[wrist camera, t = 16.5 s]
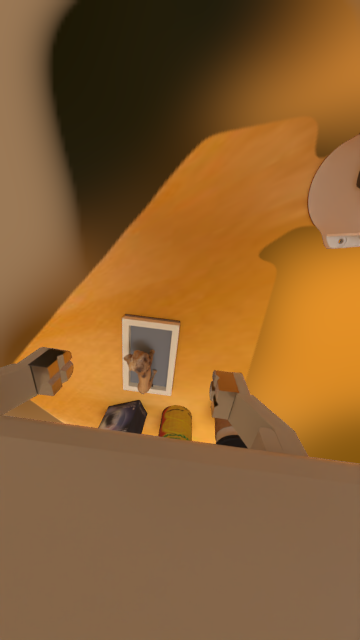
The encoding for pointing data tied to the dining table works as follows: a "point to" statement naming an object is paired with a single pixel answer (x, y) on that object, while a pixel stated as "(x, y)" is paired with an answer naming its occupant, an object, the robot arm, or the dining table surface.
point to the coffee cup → (227, 434)
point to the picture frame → (145, 338)
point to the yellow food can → (176, 423)
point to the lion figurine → (142, 368)
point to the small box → (125, 417)
